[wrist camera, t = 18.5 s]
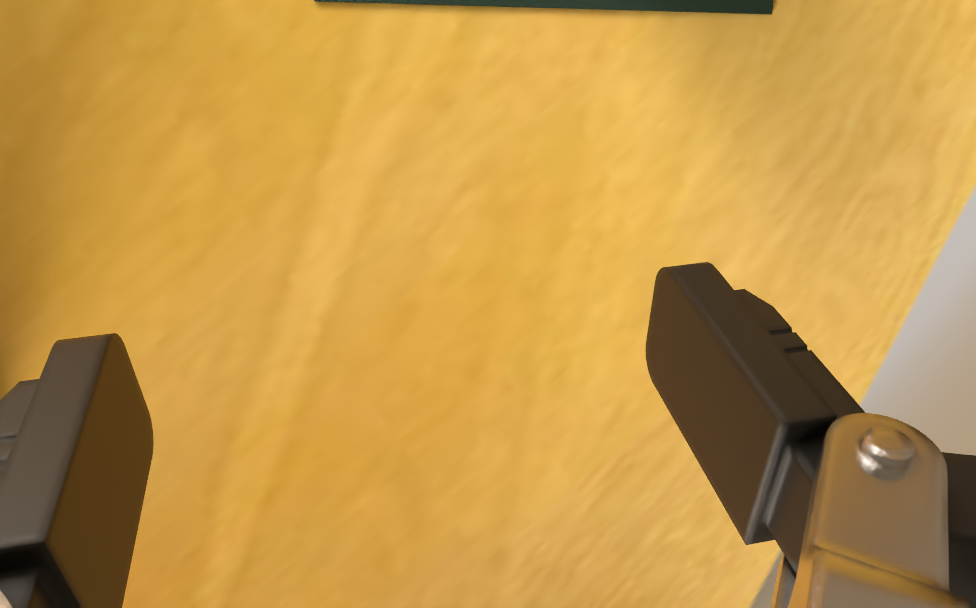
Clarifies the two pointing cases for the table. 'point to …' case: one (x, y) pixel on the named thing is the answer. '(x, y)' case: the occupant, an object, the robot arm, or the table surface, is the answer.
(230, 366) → the table surface
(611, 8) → the desk mat
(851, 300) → the table surface
